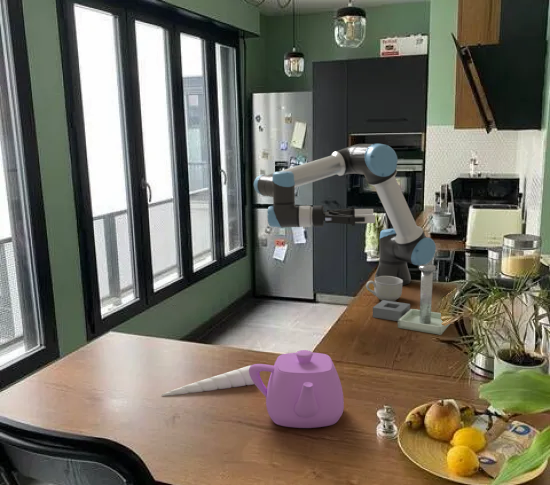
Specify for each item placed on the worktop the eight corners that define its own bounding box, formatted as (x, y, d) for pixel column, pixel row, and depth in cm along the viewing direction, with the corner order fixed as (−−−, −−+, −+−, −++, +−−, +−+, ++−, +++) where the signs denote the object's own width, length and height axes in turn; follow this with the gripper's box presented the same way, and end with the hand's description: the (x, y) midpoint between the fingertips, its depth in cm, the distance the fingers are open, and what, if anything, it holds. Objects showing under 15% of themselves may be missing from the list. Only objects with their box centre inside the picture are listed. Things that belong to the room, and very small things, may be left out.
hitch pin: (419, 319, 184) (421, 263, 180) (435, 321, 181) (437, 265, 177) (414, 323, 179) (416, 266, 176) (430, 326, 177) (433, 268, 173)
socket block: (382, 309, 197) (383, 300, 196) (409, 313, 192) (410, 304, 191) (372, 317, 189) (372, 307, 188) (400, 321, 183) (400, 311, 183)
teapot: (251, 398, 131) (250, 339, 128) (339, 397, 131) (339, 338, 128) (245, 451, 109) (244, 381, 106) (351, 451, 108) (352, 380, 106)
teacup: (400, 295, 214) (401, 275, 212) (404, 303, 203) (404, 283, 202) (364, 295, 215) (365, 275, 214) (366, 303, 204) (366, 282, 203)
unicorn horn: (160, 390, 136) (159, 372, 135) (253, 379, 142) (253, 362, 141) (161, 399, 132) (160, 380, 131) (257, 387, 138) (256, 369, 137)
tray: (410, 315, 190) (411, 308, 189) (451, 322, 182) (452, 314, 182) (397, 327, 178) (397, 320, 177) (440, 334, 171) (441, 327, 170)
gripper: (314, 221, 202) (372, 220, 199) (309, 233, 178) (375, 233, 175) (314, 201, 200) (372, 200, 197) (309, 210, 176) (376, 210, 173)
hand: (374, 215), depth 186 cm, fingers open, 13 cm apart
